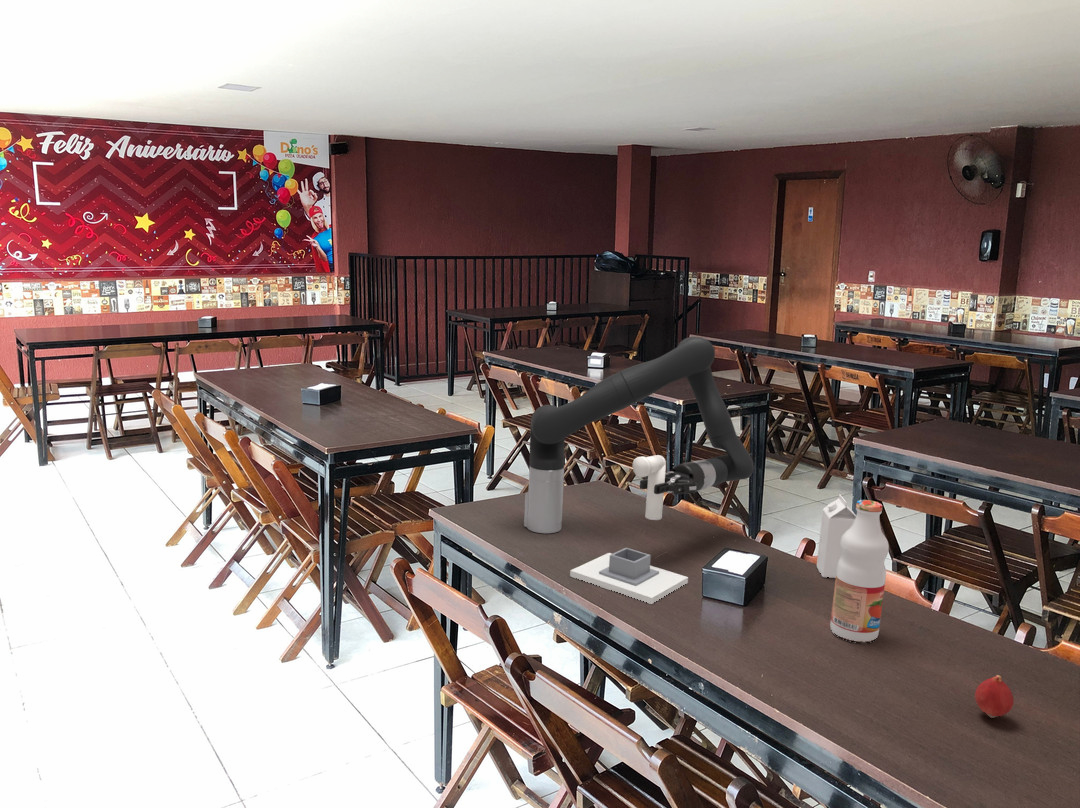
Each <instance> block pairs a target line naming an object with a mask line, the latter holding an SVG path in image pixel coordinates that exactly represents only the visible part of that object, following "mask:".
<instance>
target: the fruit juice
mask: <svg viewBox="0 0 1080 808" xmlns="http://www.w3.org/2000/svg"><path fill="white" fill-rule="evenodd" d="M855 510H856V514H855V515H856V518H855V520H854V523H853V524H852V526H851V527H850V529H848V530H847V531H846V532H845V533H844V534H843V536H842V538H841V543H840V546H841V553H842V556H841V558H840V560H839V562H838V565H837V571H836V578H835V581H834V590H833V598H832V605H831V615H830V625H829V626H830V631H831V630H832V631H831V633H833V634H834V633H835V634H836V635H838V636H840V637H843V638H846V639H849V640H854V641H863V642H865V641H871V640H874V639H876V638H877V639H878V636H879V632H880V624H881V618H882V610H883V603H884V601H883V600H884V596H885V595H884V594H885V585H886V579H887V578H886V577H887V570H886V566H885V565H886V564H885V561H886V559H887V556H888V554H889V547H890V546H889V541H888V539H887V538H886V536H885V534H884V533H883V531H882V528H881V521H880V515H881V514H882V511H883V505H882V503H880V502H879V501H874V500H869V499H868V500H867V499H859V500H857V501H856V503H855ZM835 634H834V635H835ZM836 635H835V636H836ZM838 636H837V637H838ZM877 639H876V640H877Z"/></svg>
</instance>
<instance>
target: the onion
mask: <svg viewBox="0 0 1080 808" xmlns="http://www.w3.org/2000/svg"><path fill="white" fill-rule="evenodd" d="M974 699H975V702H976V705H977V706H978V708H979V709H980V710H981V711H982V712H983V713H984V712H985V713H986V714H989V715H992V716H1000V717H1001V716H1004V715H1007V714H1009V712H1010V711H1011V710H1012V709H1013V706H1014V701H1015V700H1014V699H1015V698H1014V695H1013V693H1012V689H1011V688H1010V687H1009V685H1008V684H1006V682H1005V681H1003V680H1002V676H1001V675H998V674H997V675H995V676H992V677H990V678H986V679H985V680H983V681H982V682H980V684H978V685H977V687H976V689H975V693H974ZM985 713H984V714H985ZM986 714H985V715H986Z"/></svg>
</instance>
